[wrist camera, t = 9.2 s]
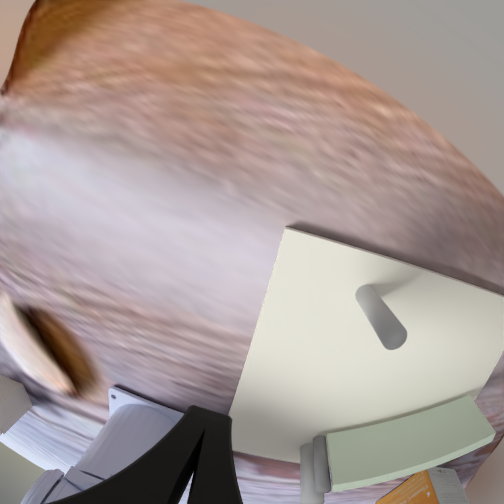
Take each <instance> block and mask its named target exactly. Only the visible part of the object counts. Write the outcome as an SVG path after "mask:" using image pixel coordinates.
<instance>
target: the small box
mask: <svg viewBox="0 0 504 504" xmlns="http://www.w3.org/2000/svg"><path fill="white" fill-rule="evenodd" d="M375 504H470V503H469V501H468V498H467V496H466V494H465V491H464V489H463V487H462V485H461V482H460V480H459V478H458V476H457V473H456V471H455V469H449V468H442V467H436V466H435V467H432V468H429V469H426V470H423V471H420V472H417V473H415V474H414V475H413V476H412V477H410V478H409V479H408V480H406V481H405V482H404V483H402V484H401V485H400V486H398V487H397V488H396V489H394V490H393V491H392V492H390V493H389V494H387V495H386V496H384V497H383V498H381V499H379V500H378V501H376V502H375Z"/></svg>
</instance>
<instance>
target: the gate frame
mask: <svg viewBox="0 0 504 504" xmlns="http://www.w3.org/2000/svg"><path fill="white" fill-rule="evenodd" d="M503 351H504V295H501V294H498V293H496V292H493V291H490V290H487V289H484V288H481V287H479V286H476V285H473V284H470V283H467V282H464V281H461V280H458V279H455V278H452V277H449V276H446V275H443V274H440V273H437V272H434V271H431V270H428V269H425V268H422V267H419V266H416V265H413V264H410V263H407V262H404V261H400V260H397V259H394V258H391V257H388V256H384V255H381V254H378V253H375V252H372V251H368V250H365V249H362V248H358V247H355V246H352V245H348V244H345V243H342V242H338V241H335V240H332V239H328V238H325V237H321V236H318V235H314V234H311V233H307V232H304V231H300V230H297V229H293V228H290V227H286V226H285V228H284V232H283V236H282V239H281V243H280V246H279V250H278V253H277V257H276V260H275V264H274V267H273V271H272V274H271V278H270V281H269V284H268V288H267V291H266V295H265V298H264V301H263V305H262V308H261V311H260V315H259V318H258V321H257V325H256V328H255V331H254V335H253V338H252V341H251V345H250V348H249V351H248V354H247V358H246V361H245V364H244V367H243V370H242V374H241V377H240V380H239V383H238V386H237V389H236V393H235V396H234V399H233V402H232V405H231V408H230V411H229V414H228V416H230V417H231V418H232V419H233V420H232V434H231V435H232V450H234V451H238V452H243V453H247V454H251V455H256V456H261V457H266V458H271V459H276V460H282V461H288V462H294V463H300V474H301V504H323V503H324V494H318V493H316V492H315V472H314V454H313V438H314V437H315V436H317V435H323V436H325V437H326V444H327V452H328V462H329V467H330V460H329V451H328V442H327V434H330V433H336V432H341V431H347V430H352V429H357V428H362V427H367V426H371V425H375V424H380V423H384V422H388V421H392V420H396V419H399V418H403V417H406V416H410V415H413V414H417V413H420V412H423V411H426V410H429V409H432V408H435V407H438V406H441V405H444V404H447V403H450V402H452V401H455V400H458V399H460V398H463V397H465V396H468V395H470V397H471V398H472V399H473V401H475V400H476V398H477V397H478V395H479V393H480V392H481V390H482V389H483V387H484V385H485V384H486V382H487V380H488V379H489V377H490V375H491V373H492V372H493V370H494V368H495V366H496V364H497V363H498V361H499V359H500V357H501V355H502V353H503Z"/></svg>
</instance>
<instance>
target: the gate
mask: <svg viewBox="0 0 504 504" xmlns="http://www.w3.org/2000/svg"><path fill="white" fill-rule="evenodd" d="M495 434H496V432H495V430H494V429H493V427H492V426H491V424H490V423H489V422H488V420H487V419H486V417H485V416H484V414H483V413H482V412H481V410H480V409H479V407H478V406H477V405H476V403H475V402H474V401H473V399H472V398H471V397H470V395H468V396H465V397H463V398H460V399H458V400H455V401H452V402H450V403H447V404H444V405H441V406H438V407H435V408H432V409H429V410H426V411H423V412H420V413H417V414H413V415H410V416H406V417H403V418H399V419H396V420H392V421H388V422H384V423H380V424H375V425H371V426H367V427H362V428H357V429H352V430H347V431H341V432H336V433H330V434H327V442H328V451H329V460H330V469H331V478H332V489H333V492H338V491H344V490H350V489H355V488H360V487H365V486H369V485H374V484H378V483H382V482H386V481H390V480H394V479H397V478H401V477H404V476H408V475H411V474H414V473H417V472H420V471H423V470H426V469H429V468H432V467H435V466H437V465H440V464H443V463H445V462H448V461H450V460H453V459H455V458H458V457H460V456H462V455H465V454H467V453H469V452H471V451H474V450H476V449H478V448H480V447H482V446H484V445H486V444H488V443H490V442H492V441H493V439H494V436H495ZM313 454H314V472H315V492H316V493H318V494H325V493H328V492H330V491H331V482H330V472H329V462H328V452H327V444H326V437H325V436H323V435H317V436H315V437H314V438H313Z"/></svg>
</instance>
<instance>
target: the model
mask: <svg viewBox="0 0 504 504" xmlns="http://www.w3.org/2000/svg"><path fill="white" fill-rule="evenodd" d="M32 406H33V404H32V402H31V400H30V398H29V396H28V394H27V392H26V390H25V387H24V385H23V384H22V383H19V382H17V381H14V380H12V379H9V378H7V377H5V376H2V375H0V435H1V434H2V433H3V434H5V433H6V432H7V431H8V430H9V429H10V428H11V427H12V426H13V425H14V424H15V423H16V422H17V421H18V420H19V419H20V418H21V417H22V416H23V415H24V414H25V413H26V412H27V411H28V410H29V409H30V408H31V407H32Z"/></svg>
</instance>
